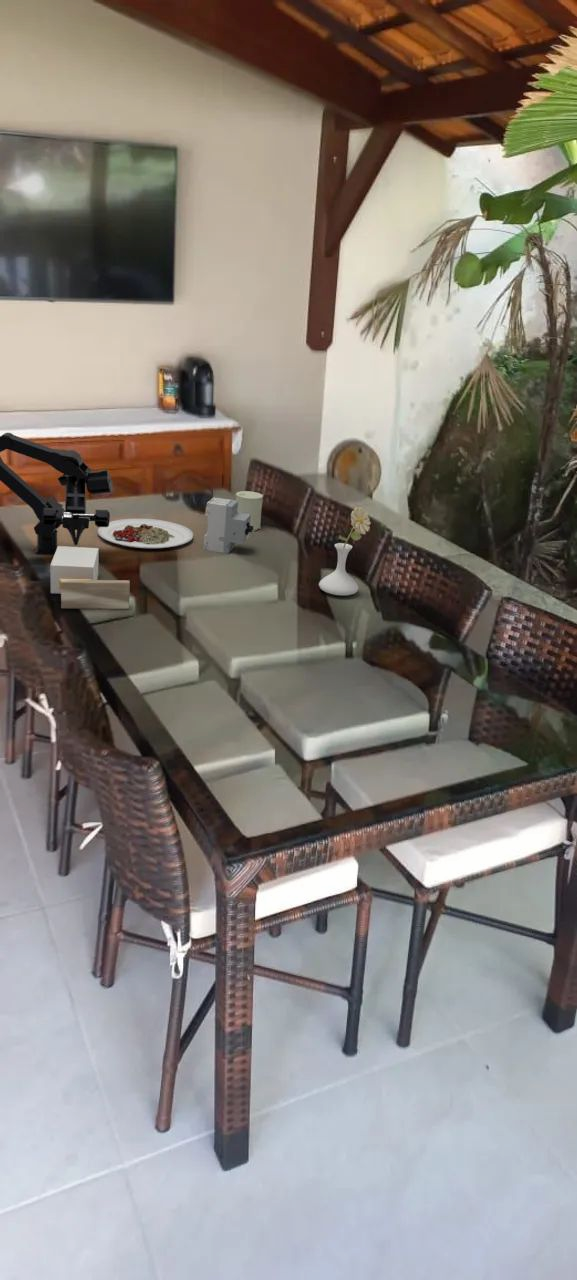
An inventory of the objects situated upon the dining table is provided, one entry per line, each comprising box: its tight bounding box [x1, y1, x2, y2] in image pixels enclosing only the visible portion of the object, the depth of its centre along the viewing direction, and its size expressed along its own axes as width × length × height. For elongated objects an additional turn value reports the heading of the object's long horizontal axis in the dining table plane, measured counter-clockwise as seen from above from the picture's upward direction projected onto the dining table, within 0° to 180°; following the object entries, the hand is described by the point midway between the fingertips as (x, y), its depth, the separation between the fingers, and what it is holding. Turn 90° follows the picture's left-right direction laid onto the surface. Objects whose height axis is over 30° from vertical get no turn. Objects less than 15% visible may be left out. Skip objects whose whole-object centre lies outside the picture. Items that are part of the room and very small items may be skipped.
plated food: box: [97, 518, 194, 550], centre depth 293 cm, size 30×30×3 cm
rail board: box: [60, 579, 131, 610], centre depth 235 cm, size 3×17×7 cm, turn 102°
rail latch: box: [59, 579, 91, 590], centre depth 238 cm, size 1×8×2 cm, turn 102°
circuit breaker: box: [202, 497, 254, 554], centre depth 287 cm, size 8×14×15 cm, turn 78°
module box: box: [49, 545, 99, 595], centre depth 249 cm, size 16×11×8 cm
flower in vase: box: [318, 506, 371, 596], centre depth 259 cm, size 13×11×25 cm
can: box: [235, 490, 264, 529], centre depth 311 cm, size 9×9×12 cm
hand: (75, 544), depth 259 cm, fingers closed
